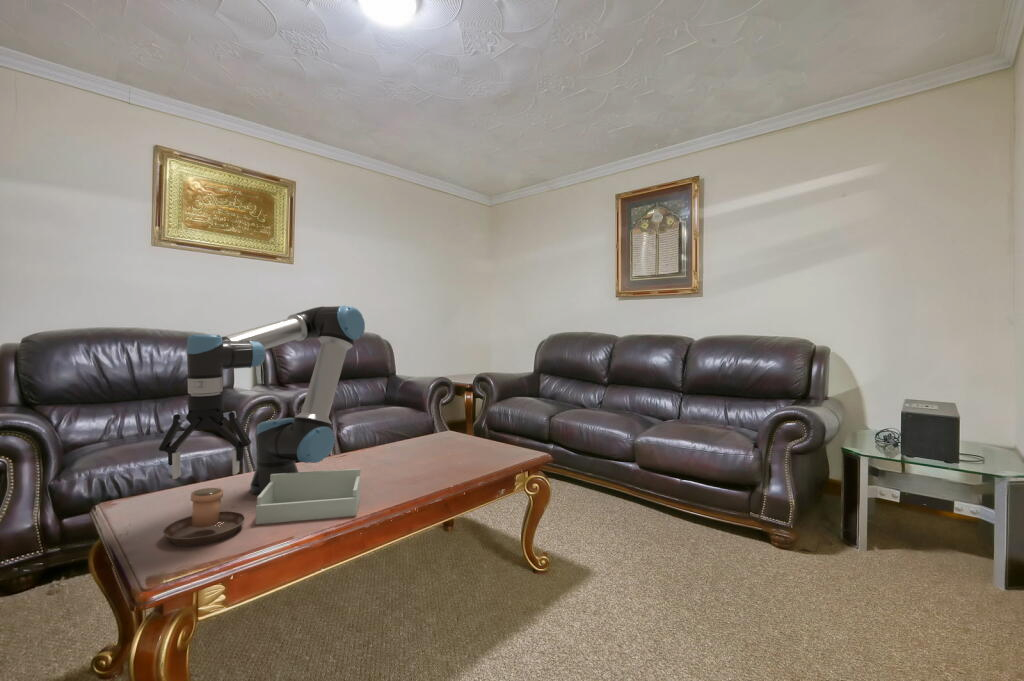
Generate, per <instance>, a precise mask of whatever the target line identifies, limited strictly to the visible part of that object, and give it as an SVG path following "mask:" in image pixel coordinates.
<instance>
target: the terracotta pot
mask: <svg viewBox="0 0 1024 681" xmlns="http://www.w3.org/2000/svg"><path fill="white" fill-rule="evenodd" d="M223 497H224V489H223V488H220V487H206V488H205V487H204V488H198V489H196V490H194V491H192V492H191V493H190V501H191V502H192V514H191V516H192V526H193V527H208V526H212V525H215V524H217V523H218V522H219V519H220V511H221V499H222V498H223Z"/></svg>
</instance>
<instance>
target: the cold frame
mask: <svg viewBox="0 0 1024 681" xmlns="http://www.w3.org/2000/svg"><path fill="white" fill-rule="evenodd" d="M360 499H361V468H349V469H348V468H347V469H333V470H331V469H330V470H316V471H315V470H313V471H303V472H300V471H298V472H297V473H282V474H271V475H270V483H269V484H268V485H267V486H266V487H265V489H264V490H263V491H262V492H261V493H260V495H257V497H256V506H255V525H265V524H275V523H276V524H277V523H286V522H288V523H289V522H298V521H308V520H309V521H310V520H311V521H312V520H322V519H323V520H324V519H335V518H344V517H356V516H357V515H358V509H359V504H360Z"/></svg>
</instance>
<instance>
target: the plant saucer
mask: <svg viewBox="0 0 1024 681" xmlns="http://www.w3.org/2000/svg"><path fill="white" fill-rule="evenodd" d="M245 519H246V516H245V515H244V514H243V513H240V512H238V511H228V510H225V511H224V510H223V511H222V510H220V519H219V522H221V523H223V522H224V523H223V524H221V523H218V524H215V525H216V526H215V525H212V526H208V527H193V526H192V515H191V516H188V517H184V518H181V519H177V520H176V521H173V522H171V523H170V524H168V525H166V527H165V528H164V529H163V530H162V534H163V536H164V537H165V538H166V539H167V540H168V541H169V542H170V543H172V544H173V545H176V546H180V545H182V547H193V545H195V546H202V545H201V544H203V545H207V544H206V543H208V544H211V543H210V542H212V543H215V542H218V541H222V540H224V539H226V538H228V537H230V536H232V535H234V533H236V532H237V531H238V529H239V528H240V527H241V526H242V525H243V523H244V522H245ZM220 524H221V525H220ZM218 525H219V526H220V527H219V526H218ZM239 530H240V529H239ZM223 538H224V539H223ZM214 541H215V542H214Z"/></svg>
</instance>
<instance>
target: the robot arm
mask: <svg viewBox="0 0 1024 681" xmlns="http://www.w3.org/2000/svg"><path fill="white" fill-rule="evenodd" d="M365 324H366V323H365V318H364V317H363V314H362V312H361V311H360V310H359V309H358V308H356V307H354V306H349V305H347V306H346V305H341V306H340V305H339V306H338V305H337V306H317V307H313V308H309V309H306V310H303V311H300V312H296V313H293V314H290V315H288V316H287V318H286V319H283V320H278V321H275V322H271V323H267V324H265V325H261V326H257V327H254V328H250V329H246V330H242V331H239V332H236V333H235V332H234V333H231V334H228V335H224V336H221V335H220V334H190V335H189V336H188V338H187V342H186V344H187V345H186V358H187V359H186V361H187V363H186V364H187V367H186V368H187V393H188V395H189V394H190V395H189V396H188V397H187V413H183V412H178V413H175V414H174V415H173V418H172V423H171V425H170V427H169V429H168V431H167V433H166V434H165V436H164V438H163V440H162V441H161V443H160V445H159V448H158V451H159V452H166V453H167V464H168V466H171V467H172V468H171V470H172V480H176V479H178V478H179V477H181V475H182V474H181V473H182V468H181V458H182V457H181V450H178V449H179V448H180V446H182V444H183V443H184V442H185V441H186V440H187V439H188V438H189V437H190V436H191V435H192V434H193V432H194V431H195V430H196V431H199V432H200V431H204V430H206V431H212V430H215V431H217V432H218V433H219V434H220V435H222V437H224V438H225V439H226V440H227V441H228V442H229V443H230V444H231V446H233V447H234V448H233V449H232V453H231V454H232V455H231V456H232V476H234V475H237V474H238V473H239V472H240V462H241V461H242V460H243V459H244V448H246V447H247V446H249V445H251V444H252V441H251V439H250V437H249V436H248V434H247V432H246V430H245V429H244V427H243V426H242V424H241V422H240V420H239V418H238V412H237V410H231V411H229V412H225V411H224V398H223V397H224V396H223V393H222V392H223V388H224V387H223V371H224V370H230V369H231V370H232V369H233V370H235V369H247V368H248V369H251V368H256V367H260V366H261V365H262V364H263V363H264V362H265V359H266V350H267V349H270V348H275V347H277V346H280V345H283V344H286V343H289V342H292V341H297V342H301V341H304V340H311V339H315V340H316V339H318V341H319V342H320V348H319V351H318V355H317V359H316V361H315V365H314V368H313V371H312V375H311V378H310V381H309V385H308V389H307V392H306V395H305V399H304V402H303V405H302V409H301V412H300V413H299V414H297V415H295V416H294V417H283V418H277V419H270V420H266V421H261V422H259V423H258V424H257V426H256V433H255V438H256V440H255V442H256V444H255V445H256V451H255V452H256V453H255V454H256V468H255V471H254V474H253V476H252V479H251V482H250V488H249V489H250V493H251V494H252V495H257V496H259V495H260V493H261V492H262V491H263V490H264V489H265V487H266V486H267V485H268V484H269V483H270V475H271V474H282V473H297V472H299V469H298V467H297V465H296V462H300V463H304V464H305V463H306V464H309V463H311V464H316V463H319V462H322V461H323V460H324V459H326V458H327V457H328V456H329V455H330V454H331V453H332V450H333V449H334V447H335V442H336V437H335V433H334V430H332V429H331V428H332V424H333V423H332V421H331V420H330V418H329V416H330V414H331V409H332V406H333V402H334V399H335V396H336V395H335V394H336V391H337V387H338V384H339V380H340V377H341V374H342V370H343V366H344V363H345V359H346V355H347V351H348V350H350V349H352V348H353V346H354V344H355V343H354V342H355V341H357V340H358V339H360V338H361V337H363V335H364V334H365V333H364V332H365V329H366V327H365V326H366V325H365ZM225 418H226V419H227V421H229V423H230V425H231V427H232V429H233V430H234V432H235V434H236V435H235V434H234V433H233V432H232V431H231V430H230V429H229V428H228V427H227V425H226V424H225V423H224V422H223V420H224V419H225ZM185 421H188V423H189V425H188V426H187V427H186V428H185V430H184V431H183V432H182V434H181V435H180V436H178V438H177V439H176V440H175V441H174V442H173V440H174V438H175V436H176V434H177V433H178V431H179V429H180V427H181V425H182V424H183V422H185ZM172 442H173V443H172Z"/></svg>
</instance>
